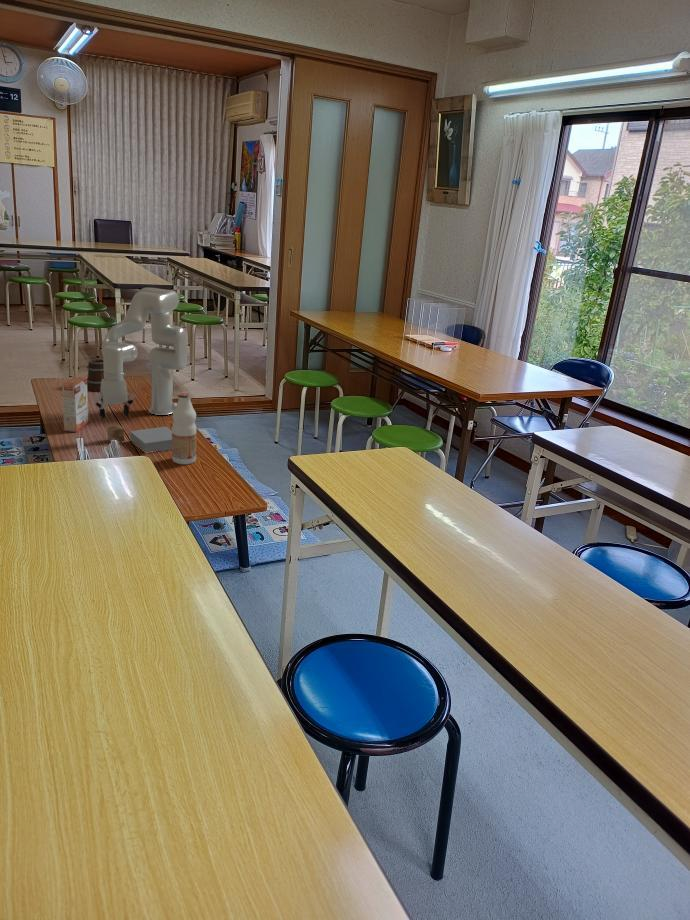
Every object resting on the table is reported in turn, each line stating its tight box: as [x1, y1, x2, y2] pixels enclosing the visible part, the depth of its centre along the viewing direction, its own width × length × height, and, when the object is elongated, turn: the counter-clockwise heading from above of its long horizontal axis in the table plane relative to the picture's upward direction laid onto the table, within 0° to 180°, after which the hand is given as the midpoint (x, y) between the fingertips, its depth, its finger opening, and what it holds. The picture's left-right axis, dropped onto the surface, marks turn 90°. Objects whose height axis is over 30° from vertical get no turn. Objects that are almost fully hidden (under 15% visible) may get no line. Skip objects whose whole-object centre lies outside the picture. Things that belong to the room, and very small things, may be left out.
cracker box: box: [61, 376, 89, 433], centre depth 293 cm, size 14×6×21 cm, turn 179°
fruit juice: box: [171, 391, 197, 465], centre depth 267 cm, size 9×9×28 cm
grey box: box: [129, 426, 172, 452], centre depth 285 cm, size 16×16×5 cm
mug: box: [86, 358, 104, 393], centre depth 351 cm, size 16×12×15 cm
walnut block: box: [107, 424, 125, 443], centre depth 285 cm, size 5×5×6 cm
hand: (114, 416), depth 281 cm, fingers open, 9 cm apart
